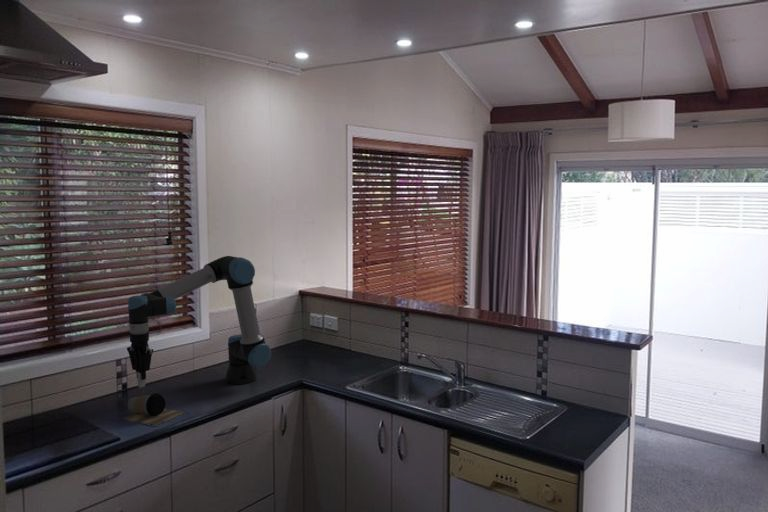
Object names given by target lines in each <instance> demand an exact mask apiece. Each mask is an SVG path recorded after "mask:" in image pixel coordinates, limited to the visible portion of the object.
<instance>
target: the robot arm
mask: <svg viewBox="0 0 768 512" xmlns="http://www.w3.org/2000/svg"><path fill="white" fill-rule="evenodd" d="M255 275H256V269H255V267H254V264H253V263H252V262H251V261H250V260H249V259H246V258H244V257H237V256H233V255H232V256H231V255H224V256H221V257H219V258H216V259H215V260H212V261H210V262H208V263H206V264H204V265H203V268H201V269H198V270H196V271H194V272H192V273H190V274H188V275H185V276H183V277H181V278H179V279H178V280H175V281H173V282H171V283H168V284H167V285H165V286H162V287H160V288H158V289H156V290H153V291H151V292H144V293H142V294H140V295H132V296H129V298H128V300H127V301H128V303H127V306H128V307H127V309H128V326H129V327H128V328H129V333H130V334H129V343H131V344H130V346H129V347H126V351H127V353H128V355H129V360H130V365H131V368H132V371H135V373H136V379H137V388H139V389H141V388H143V387H146V379H147V372H148V371H149V370H150V369H151V363H152V356H153V353H154V349H152V348H150V347H149V341H150V333H149V329H150V327H149V318H152V317H153V318H154V317H157V316H158V317H159V316H168V315H172V314H174V313H175V312H176V310H177V303H176V299H179V298H181V297H183V296H186V295H187V294H189V293H191V292H193V291H195V290H197V289H199V288H202V287H204V286H206V285H208V284H210V283H212V284H215V283H217V282H219V281H226V283H227V288H228V289H229V290H230V291H232V295H233V300H234V305H235V309H236V315H237V319H238V323H239V328H240V333H241V334H234V335H230V336H229V337H228V340H227V348H228V352H227V353H228V367H227V372H226V374H225V382H226V383H227V384H230V385H245V384H250V383H253V382H255V381H257V372H256V370H255V367H256V368H261V367H264V366H265V365H266V364H267V363H269V361H270V358H271V357H272V349H271V347H270V345H268V344H267V343H266V340H265V336H264V335H263V334H262V333H261V332H260V327H259V324H258V323H259V321H258V317H257V316H258V315H257V313H256V312H257V311H256V307H255V303H254V297H253V293H252V288H251V287H252V286H253V284H254V281H253V280H254V277H255Z"/></svg>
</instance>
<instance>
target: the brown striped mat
mask: <svg viewBox="0 0 768 512" xmlns="http://www.w3.org/2000/svg"><path fill="white" fill-rule="evenodd" d="M183 413H185V412H184V411H180V410H174V409H169V408H166V407H165V408H164V410H163V412H162V413H161V414H159V415H157V416H151V415H149V414H143V413H138V412H134V413H133V414H130V415H128V416H126V417H123V418H122V419H123V421H128V422H133V423H137V422H138V424H142V423H143V424H142V425H146V424H150V425H149V426H151V425H155V426H154V427H158V426H160V425H162V424H161V423H163V422H165V423H167V422H168V420H169V421H170V419H171V420H173V419H175V418H177V417H179V416H182V415H183ZM178 415H179V416H178ZM174 417H175V418H174ZM172 418H173V419H172ZM166 421H167V422H166ZM159 424H160V425H159ZM163 424H164V423H163ZM157 425H158V426H157Z"/></svg>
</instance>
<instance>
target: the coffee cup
mask: <svg viewBox="0 0 768 512" xmlns="http://www.w3.org/2000/svg"><path fill="white" fill-rule="evenodd" d="M164 408H165V409H166V399H165V397H164V396H163V395H162V394H160V393H157V392H156V393H152V394H148V395H147V394H146V395H140V396H132V397H131V398H129V400H128V402H127V409H128V410H129V411H130V412H133V413H137V412H138V413H143V414H149V415H151V416H157V415H159V414H161V413H162V412H163V410H164Z"/></svg>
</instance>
